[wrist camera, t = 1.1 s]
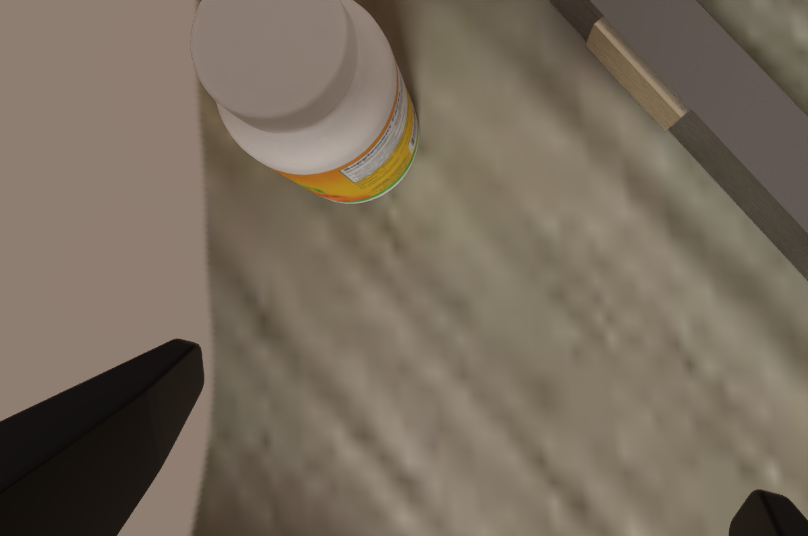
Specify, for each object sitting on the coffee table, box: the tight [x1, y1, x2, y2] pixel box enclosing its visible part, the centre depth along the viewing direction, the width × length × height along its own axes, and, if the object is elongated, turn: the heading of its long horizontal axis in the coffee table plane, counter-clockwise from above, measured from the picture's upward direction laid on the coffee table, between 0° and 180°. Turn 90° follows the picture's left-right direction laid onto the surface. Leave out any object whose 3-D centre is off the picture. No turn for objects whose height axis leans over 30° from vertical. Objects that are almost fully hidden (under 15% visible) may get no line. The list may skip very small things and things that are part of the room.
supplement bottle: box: [191, 0, 419, 204], centre depth 19 cm, size 5×5×10 cm
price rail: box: [550, 0, 808, 280], centre depth 20 cm, size 3×21×2 cm, turn 40°
